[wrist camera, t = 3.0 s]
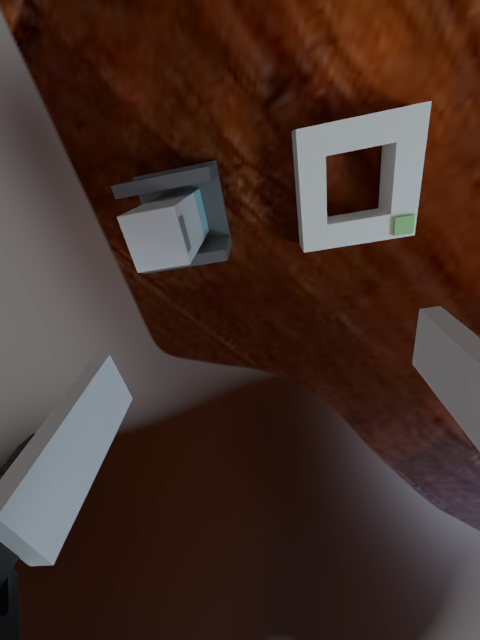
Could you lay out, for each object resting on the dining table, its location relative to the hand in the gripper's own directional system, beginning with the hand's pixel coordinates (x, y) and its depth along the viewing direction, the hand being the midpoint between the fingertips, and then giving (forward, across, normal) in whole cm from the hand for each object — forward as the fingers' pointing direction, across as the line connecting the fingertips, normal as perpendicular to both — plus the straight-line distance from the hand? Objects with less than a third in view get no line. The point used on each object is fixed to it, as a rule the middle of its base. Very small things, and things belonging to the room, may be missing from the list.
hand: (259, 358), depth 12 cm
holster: (+20, -6, +4) cm, 22 cm away
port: (+20, +10, +4) cm, 23 cm away
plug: (+20, -6, +4) cm, 21 cm away
